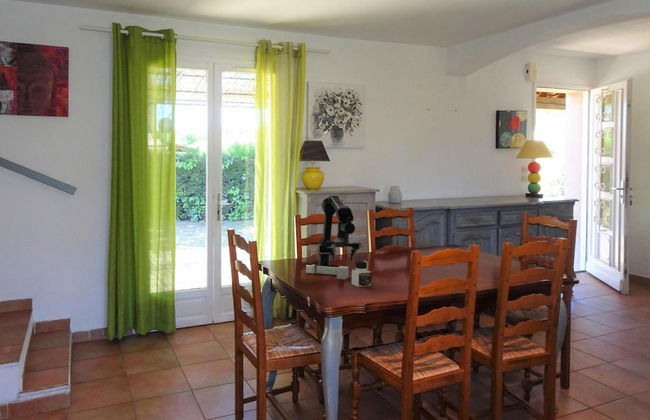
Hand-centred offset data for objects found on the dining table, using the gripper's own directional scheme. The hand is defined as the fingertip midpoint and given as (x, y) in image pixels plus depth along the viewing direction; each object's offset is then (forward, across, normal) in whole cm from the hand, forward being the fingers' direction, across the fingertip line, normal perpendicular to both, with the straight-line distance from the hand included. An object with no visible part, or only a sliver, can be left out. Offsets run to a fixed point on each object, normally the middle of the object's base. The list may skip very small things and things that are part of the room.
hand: (342, 260), depth 280 cm
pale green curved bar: (+9, -10, +4) cm, 14 cm away
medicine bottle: (+9, +13, -12) cm, 20 cm away
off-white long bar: (+9, -11, +5) cm, 15 cm away
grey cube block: (+9, 0, 0) cm, 9 cm away
